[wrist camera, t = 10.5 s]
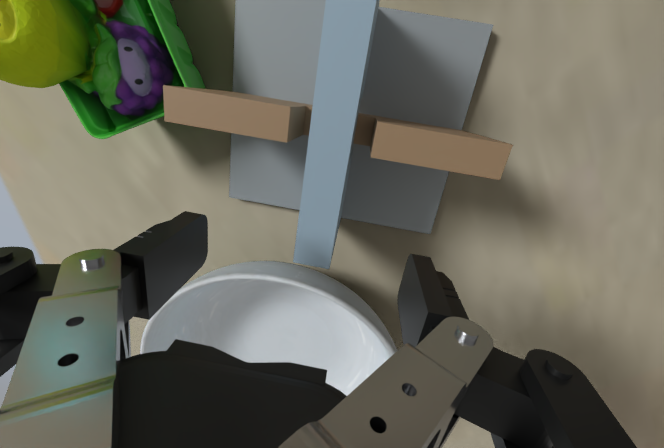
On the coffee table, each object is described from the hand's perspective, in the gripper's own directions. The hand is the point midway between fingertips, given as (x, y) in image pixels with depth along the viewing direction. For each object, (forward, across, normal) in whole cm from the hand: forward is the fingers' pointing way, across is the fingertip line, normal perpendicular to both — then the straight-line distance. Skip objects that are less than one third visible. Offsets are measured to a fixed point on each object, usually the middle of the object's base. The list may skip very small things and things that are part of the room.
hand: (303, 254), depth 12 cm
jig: (+13, 0, -4) cm, 13 cm away
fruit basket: (+13, +15, -7) cm, 21 cm away
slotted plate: (+12, 0, -4) cm, 13 cm away
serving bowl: (+13, +2, +16) cm, 21 cm away
